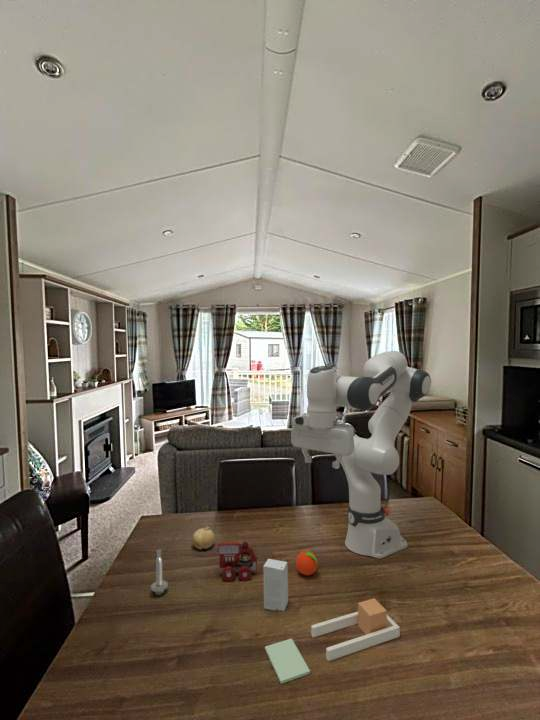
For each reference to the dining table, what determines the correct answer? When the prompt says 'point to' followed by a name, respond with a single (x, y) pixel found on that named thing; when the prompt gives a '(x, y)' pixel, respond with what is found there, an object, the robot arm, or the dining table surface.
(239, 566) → the toy fire truck
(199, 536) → the onion
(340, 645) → the chute
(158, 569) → the screw
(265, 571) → the skincare box
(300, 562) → the clementine
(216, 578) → the dining table surface
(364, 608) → the block
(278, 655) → the pad
